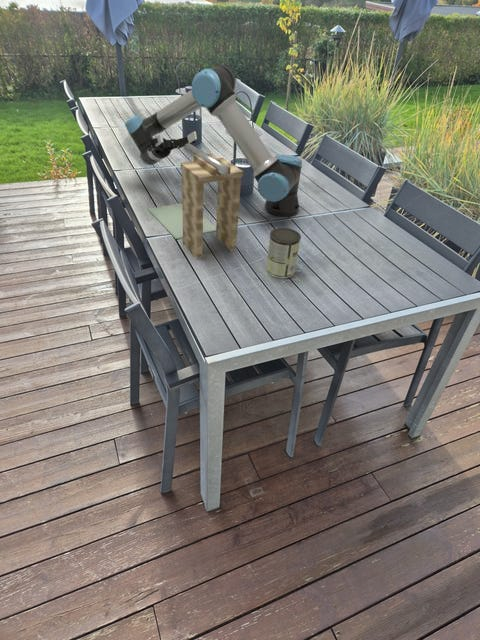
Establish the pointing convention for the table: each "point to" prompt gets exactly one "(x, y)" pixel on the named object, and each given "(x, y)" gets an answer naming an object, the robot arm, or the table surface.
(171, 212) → the sage mat
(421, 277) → the table surface
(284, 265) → the coffee can
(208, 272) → the table surface
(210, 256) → the table surface
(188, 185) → the oak bridge
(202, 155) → the steel rod
